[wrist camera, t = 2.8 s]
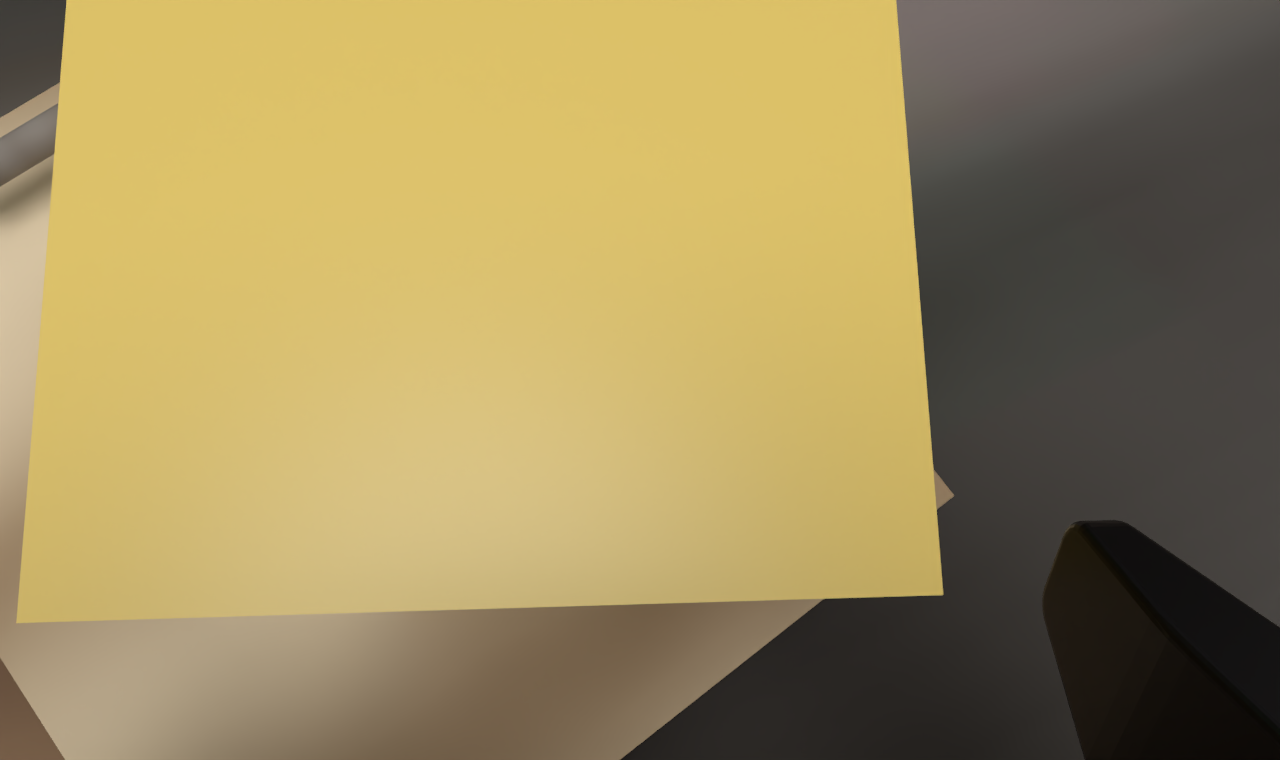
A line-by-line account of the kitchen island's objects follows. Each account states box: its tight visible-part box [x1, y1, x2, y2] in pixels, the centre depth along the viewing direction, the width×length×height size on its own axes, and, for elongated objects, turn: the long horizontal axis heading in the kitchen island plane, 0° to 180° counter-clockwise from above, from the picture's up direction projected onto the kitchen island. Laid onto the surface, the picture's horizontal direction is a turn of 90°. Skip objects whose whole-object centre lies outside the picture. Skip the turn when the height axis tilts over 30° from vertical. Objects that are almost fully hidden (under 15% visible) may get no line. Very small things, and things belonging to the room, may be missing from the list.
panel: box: [0, 83, 954, 760], centre depth 17 cm, size 15×21×1 cm
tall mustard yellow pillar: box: [16, 0, 943, 623], centre depth 12 cm, size 5×5×12 cm
